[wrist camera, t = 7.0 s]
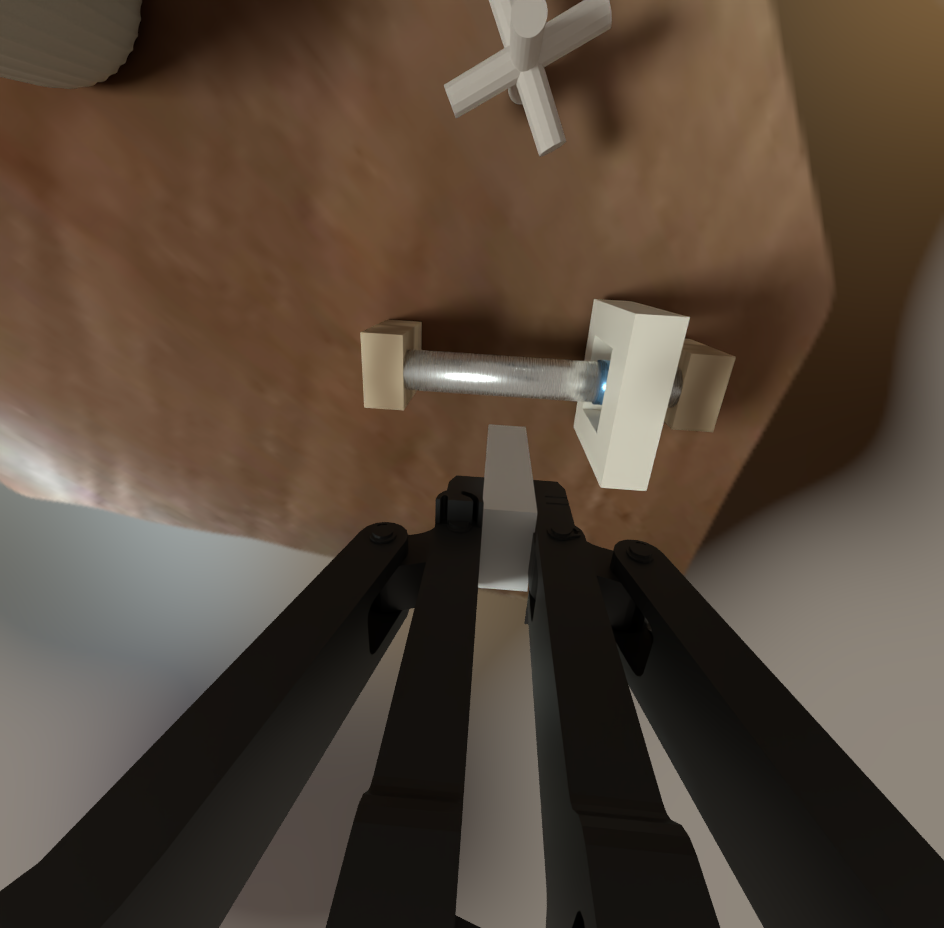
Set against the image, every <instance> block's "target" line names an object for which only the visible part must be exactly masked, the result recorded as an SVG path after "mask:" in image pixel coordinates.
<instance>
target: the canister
mask: <svg viewBox="0 0 944 928" xmlns="http://www.w3.org/2000/svg"><path fill="white" fill-rule="evenodd" d="M141 4H142V0H0V77H4V78H8V79H13V80H17V81H22V82H26V83H30V84H35V85H40V86H45V87H51V88H66V89H77V88H80V87H90V86H93V85H95V84H96V83H97V82H103V81H106V80H107V79H108V77H109V76H110V75H112V74H115V73H117V72H118V69H119V67H120V66H121V65H122V64H125V63H126V60H127V57H128V55H129V53H130V52H131V51H133V45H134V41H135V39H136V38H137V37H138V27H139V23H140V21H141V15H140V9H141Z"/></svg>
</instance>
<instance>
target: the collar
mask: <svg viewBox="0 0 944 928" xmlns="http://www.w3.org/2000/svg"><path fill="white" fill-rule="evenodd" d="M689 319H690V317H687V316H684V315H680V314H677V313H673V312H669V311H666V310H662V309H658V308H655V307H651V306H647V305H644V304H640V303H636V302H633V301H620V300H603V299H594V303H593V309H592V316H591V322H590V328H589V334H588V340H587V347H586V353H585V359H584V361H594V362H597V360H610V366H609V371H608V377H607V382H606V387H605V393H604V398H603V403H602V405H594V404H592V402H579V401H578V403H577V409H576V415H575V421H574V429H575V431H576V433H577V435H578V438H579V440H580V442H581V444H582V447H583V449H584V451H585V453H586V456H587V458H588V460H589V462H590V464H591V467H592V469H593V471H594V473H595V476H596V478H597V480H598V482H599V485H600V487H601V488H614V489H627V490H640V491H646V490H647V486H648V482H649V478H650V474H651V470H652V466H653V462H654V458H655V454H656V450H657V446H658V443H659V439H660V435H661V431H662V427H663V423H664V419H665V415H666V411H667V407H668V403H669V399H670V395H671V391H672V387H673V383H674V379H675V375H676V371H677V367H678V363H679V359H680V355H681V351H682V347H683V343H684V339H685V335H686V331H687V327H688V323H689Z"/></svg>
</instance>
